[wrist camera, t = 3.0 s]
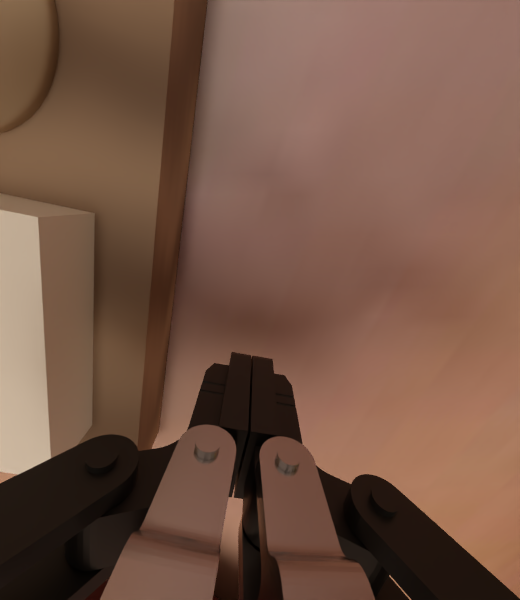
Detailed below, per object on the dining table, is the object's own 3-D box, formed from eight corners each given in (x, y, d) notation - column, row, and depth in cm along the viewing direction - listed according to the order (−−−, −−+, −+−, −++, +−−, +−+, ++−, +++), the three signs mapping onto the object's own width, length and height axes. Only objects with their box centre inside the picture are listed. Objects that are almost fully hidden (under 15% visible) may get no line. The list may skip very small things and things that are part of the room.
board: (-161, -130, 9) (-405, -323, 6) (210, -25, 10) (186, -140, 7) (-54, 398, 16) (-136, 449, 13) (158, 431, 17) (133, 487, 13)
